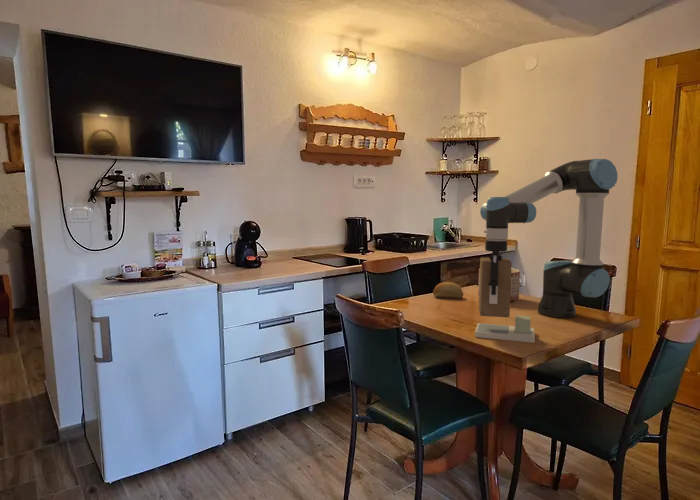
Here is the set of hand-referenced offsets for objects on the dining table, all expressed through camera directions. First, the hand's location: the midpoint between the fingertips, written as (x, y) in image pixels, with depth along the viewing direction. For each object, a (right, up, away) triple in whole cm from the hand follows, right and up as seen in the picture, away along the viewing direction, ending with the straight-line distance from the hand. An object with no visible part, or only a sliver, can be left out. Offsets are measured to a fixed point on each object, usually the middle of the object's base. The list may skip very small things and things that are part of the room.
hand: (494, 300), depth 169 cm
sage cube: (+10, -11, -2) cm, 15 cm away
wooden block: (0, -5, +1) cm, 5 cm away
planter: (+21, -6, +61) cm, 64 cm away
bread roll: (-3, -6, +65) cm, 65 cm away
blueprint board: (+4, -13, 0) cm, 13 cm away
